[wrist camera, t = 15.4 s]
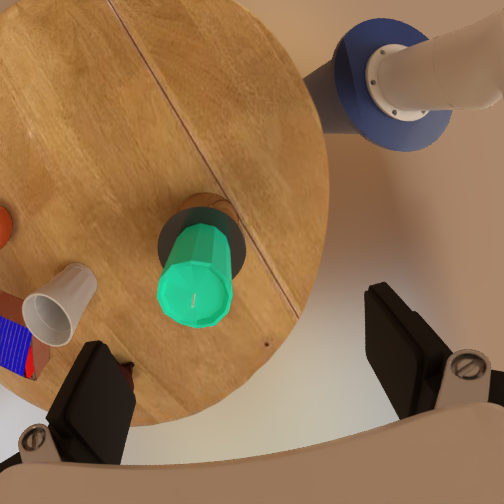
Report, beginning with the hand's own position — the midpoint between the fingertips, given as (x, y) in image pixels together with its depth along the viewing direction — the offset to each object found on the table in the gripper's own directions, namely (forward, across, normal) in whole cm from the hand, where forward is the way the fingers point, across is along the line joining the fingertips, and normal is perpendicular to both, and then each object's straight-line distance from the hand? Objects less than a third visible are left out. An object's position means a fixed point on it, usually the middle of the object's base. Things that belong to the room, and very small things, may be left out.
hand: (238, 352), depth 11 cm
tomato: (+34, +37, -5) cm, 51 cm away
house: (+33, +47, +12) cm, 59 cm away
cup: (+34, +26, +8) cm, 44 cm away
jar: (+34, +4, +4) cm, 35 cm away
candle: (+24, +4, +4) cm, 25 cm away
